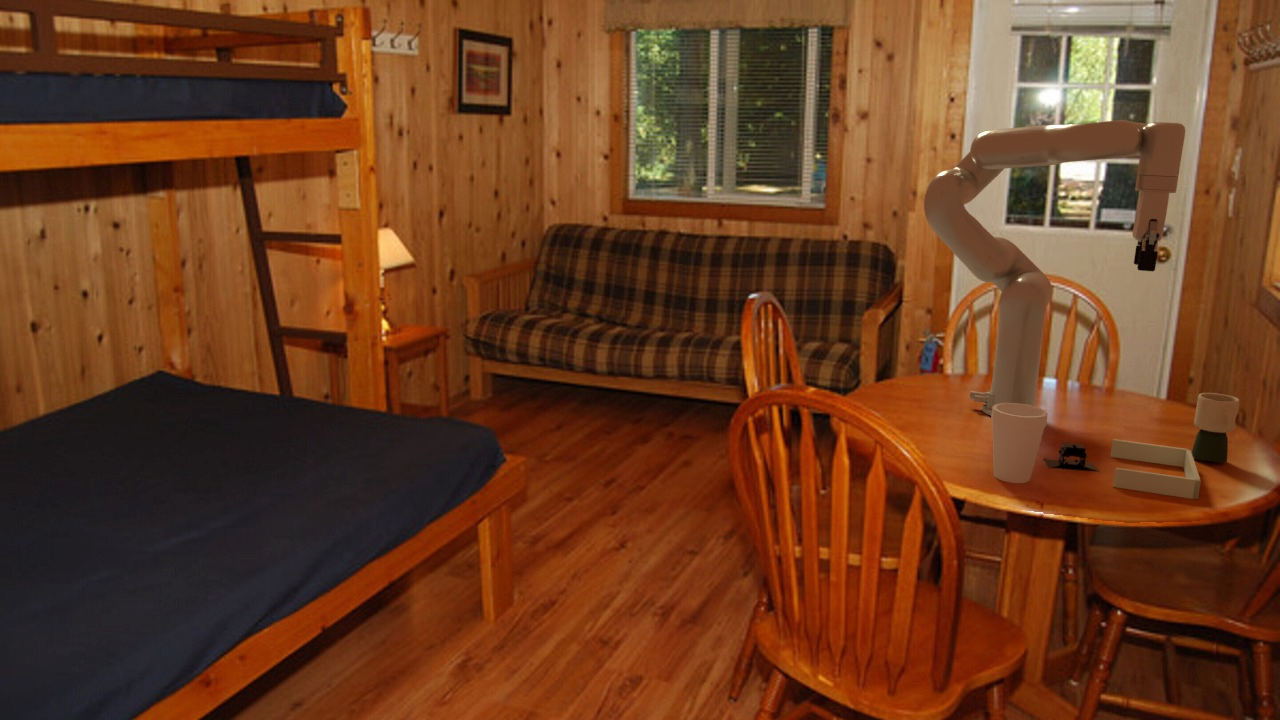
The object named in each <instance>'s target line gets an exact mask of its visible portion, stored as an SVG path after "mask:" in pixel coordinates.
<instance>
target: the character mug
mask: <svg viewBox="0 0 1280 720" xmlns="http://www.w3.org/2000/svg"><path fill="white" fill-rule="evenodd" d="M1196 402H1197V403H1196V406H1195V407H1196V408H1195V413H1194V414H1195V415H1194V418H1193V419H1194V420H1193V425H1194V427H1196V428H1199V430H1198V431H1197V433H1196V437H1195V440H1194V443H1193V446H1192V448H1191V449H1192V450H1191V453H1192V456H1193V459H1198V460H1201V461H1206V462H1207V461H1209V462H1210V463H1211V464H1215V462H1216V463H1217V462H1218V463H1226V462H1228V450H1229V449H1228V448H1229V447H1228V446H1229V445H1228V444H1229V441H1228V439H1229V438H1228V435H1227V433H1231V432H1233V431H1234V430H1235V429H1236V427H1237V425H1236V418H1237V415H1238V414H1239V411H1240V409H1239V407H1240V398H1238V397H1236V396H1233V395H1230V394H1229V395H1228V394H1222V393H1217V392H1202V393H1199V394H1198V396H1197V401H1196Z"/></svg>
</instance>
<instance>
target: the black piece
mask: <svg viewBox="0 0 1280 720" xmlns="http://www.w3.org/2000/svg"><path fill="white" fill-rule="evenodd" d="M1058 453H1059V454H1058V459H1051V458H1050V459H1049V458H1042V460H1043V462H1044V464H1045V465H1046V467H1047V468H1048V469H1054V470H1055V469H1056V470H1068V471H1069V470H1072V471H1085V472H1100V470H1099V469H1098V467H1097V466H1096V465H1095V464H1094V463H1093V462H1088V461H1086V459H1087V458H1088V456H1087V452H1086V447H1085V446H1084V445H1083V444H1082V443H1073V442H1062V443H1061V446H1060V447H1059V450H1058ZM1070 457H1076V458H1079V459H1066V458H1070Z"/></svg>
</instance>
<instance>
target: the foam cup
mask: <svg viewBox="0 0 1280 720" xmlns="http://www.w3.org/2000/svg"><path fill="white" fill-rule="evenodd" d="M1048 416H1049V414H1048V412H1047V410H1046V409H1043V408H1041V407H1038V406H1036V405H1035V406H1031V405H1026V404H1018V403H1000V404H996V405H994V406H992V415H991V417H990V419H991V422H992V423H991V425H992V426H991V427H992V461H993V476H994V478H996V479H998V480H1000V481H1002V482H1005V483H1012V484H1025V483H1029V482H1030V480H1031V477H1032V474H1033V471H1034V467H1035V463H1036V460H1037V456H1038V453H1039V450H1040V446H1041V441H1042V438H1043V434H1044V430H1045V428H1046V427H1047V422H1048Z"/></svg>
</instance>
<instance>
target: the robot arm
mask: <svg viewBox="0 0 1280 720" xmlns="http://www.w3.org/2000/svg"><path fill="white" fill-rule="evenodd" d="M1185 135H1186V127H1185V125H1183V124H1182V123H1179V122H1164V121H1163V122H1158V121H1157V122H1156V121H1155V122H1150V123H1145V122H1136V121H1131V120H1127V119H1119V120H1118V119H1116V120H1108V121H1098V122H1097V121H1096V122H1087V123H1086V122H1085V123H1074V124H1041V125H1031V126H1022V127H1021V126H1020V127H1019V126H1018V127H1009V128H1000V129H999V128H998V129H990V130H989V129H988V130H986V131H982V132H980V133H979V134H977V135H976V136H975V137H974V138H973V140H972V143H971V145H970V151H969V152H967V154H966V155H965V156H964V157H963V158H962V159H961V160H960V161H958V163H957V164H956V165H955V166H954V167H952V168H951V169H945V170H942V171H940V172H939V173H937V174H936V175H935V176H934V177H933V178H932V179H931V180H930V182H929V184H928V185H927V187H926V190H925V194H924V199H923V210H924V216H925V218H926V221H927V223H928V225H929V226H930V228H931V230H932V231H933V233H934V234H935V235H936V236H937V237H938V238H939V240H941V242H943V243H944V244H945V245H946V246H947V247H948V248H949V250H950V251H951V253H953V255H954V256H956V258H958V259H959V261H960V262H961V263H962V264H963V265H965V267H966V268H967V269H968V271H970V273H972V274H973V276H974V277H975V278H977V279H978V280H979V281H982V282H985V283H992V284H993V285H994V286H995V287H996V288H997V289H999V291H1000V296H999V302H998V321H997V333H996V334H997V335H996V343H995V353H994V363H993V371H992V381H991V388H990V389H989V391H984V392H980V391H977V390H976V391H975V390H970V392H969V400H974V402H979V403H980V402H981V403H982V406H981V411H982V412H983V413H984V414H986V415H987V416H991V415H992V406H994V405H996V404H1000V403H1018V404H1026V405H1031V406H1035V407H1036V405H1035V404H1036V396H1037V388H1038V382H1039V381H1038V379H1039V373H1040V365H1041V364H1040V363H1041V355H1042V347H1043V337H1044V328H1045V314H1046V310H1047V307H1048V305H1049V303H1050V302H1051V300H1052V297H1053V293H1054V292H1053V291H1054V290H1053V285H1052V282H1051V281H1050V279H1049V277H1047V276H1046V274H1045V273H1044V272H1043V271H1042V270H1041V269H1040V268H1039V267H1038V266H1037V265H1036V264H1035V263H1034V262H1033V261H1032V260H1031V259H1030V258H1029V257H1028V256H1027V255H1026V254H1025V253H1024V252H1023V251H1022V250H1021V249H1020V248H1019V247H1018V246H1017V245H1016V244H1014V243H1013V242H1012V241H1010V240H1008V239H1007V238H1004V237H999V236H998V237H997V236H993V235H992V234H991V233H990V232H989V231H988V230H987V229H986V227H984V226H983V225H982V224H981V223H980V221H979V220H977V219H976V218H975V216H973V215H972V214H970V212H968V210H967V209H966V207H965V205H967V204H969V203H970V202H972V201H973V200H974V199H975V198H976V197H977V196H978V195H979V194H980V193H981V192H983V190H984V189H986V187H988V186H989V185H990V184H991V183H992V182H993V181H994V180H995V179H996V178H997V177H998V176H999V175H1000V174H1001V173H1002V172H1003V171H1004V170H1005V169H1015V168H1028V167H1029V168H1030V167H1043V166H1055V165H1060V164H1063V163H1064V164H1065V163H1074V162H1082V161H1083V162H1085V161H1086V162H1087V161H1097V160H1098V161H1099V160H1112V159H1115V160H1116V159H1123V158H1131V157H1139V160H1138V161H1139V162H1138V167H1137V168H1138V169H1137V174H1136V175H1137V176H1136V182H1135V188H1134V189H1135V190H1134V191H1135V192H1139V196H1138V201H1137V205H1136V212H1135V217H1134V223H1133V229H1132V237H1133V238H1134V239H1135V240H1136V241H1137V245H1136V247H1135V252H1134V259H1133V264H1134V265H1137V270H1138V271H1144V272H1154V271H1156V266H1157V259H1158V252H1159V251H1158V248H1159V247H1158V245H1159V241H1161V240H1162V237H1163V234H1164V229H1165V223H1166V219H1167V213H1168V206H1169V198H1170V194H1175V193H1177V187H1178V183H1179V182H1178V181H1179V175H1180V168H1181V162H1182V156H1183V150H1184V143H1185V137H1186V136H1185Z"/></svg>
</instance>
